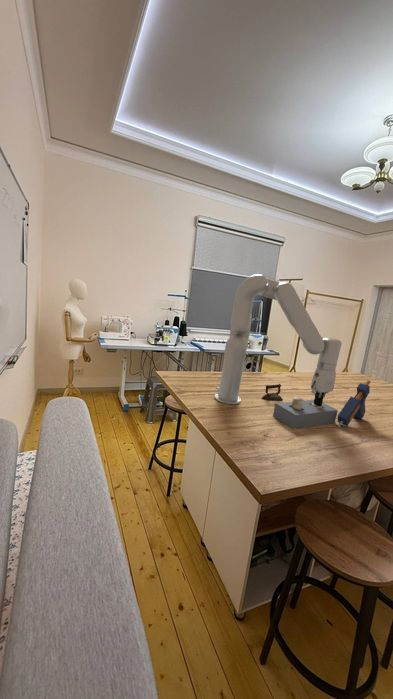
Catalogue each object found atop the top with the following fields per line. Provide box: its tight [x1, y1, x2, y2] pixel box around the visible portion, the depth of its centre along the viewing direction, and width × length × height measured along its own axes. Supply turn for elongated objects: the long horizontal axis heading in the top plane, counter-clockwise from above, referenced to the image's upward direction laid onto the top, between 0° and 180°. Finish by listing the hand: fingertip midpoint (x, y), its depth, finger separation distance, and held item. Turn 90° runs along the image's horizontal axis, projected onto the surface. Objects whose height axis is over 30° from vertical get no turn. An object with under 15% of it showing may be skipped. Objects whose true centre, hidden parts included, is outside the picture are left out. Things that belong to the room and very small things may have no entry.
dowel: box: [291, 396, 305, 411], centre depth 123 cm, size 4×4×5 cm
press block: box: [272, 399, 339, 430], centre depth 127 cm, size 12×26×6 cm, turn 118°
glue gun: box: [337, 379, 371, 428], centre depth 133 cm, size 6×31×15 cm
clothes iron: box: [261, 383, 284, 402], centre depth 147 cm, size 7×11×10 cm, turn 118°
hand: (317, 404), depth 130 cm, fingers closed
